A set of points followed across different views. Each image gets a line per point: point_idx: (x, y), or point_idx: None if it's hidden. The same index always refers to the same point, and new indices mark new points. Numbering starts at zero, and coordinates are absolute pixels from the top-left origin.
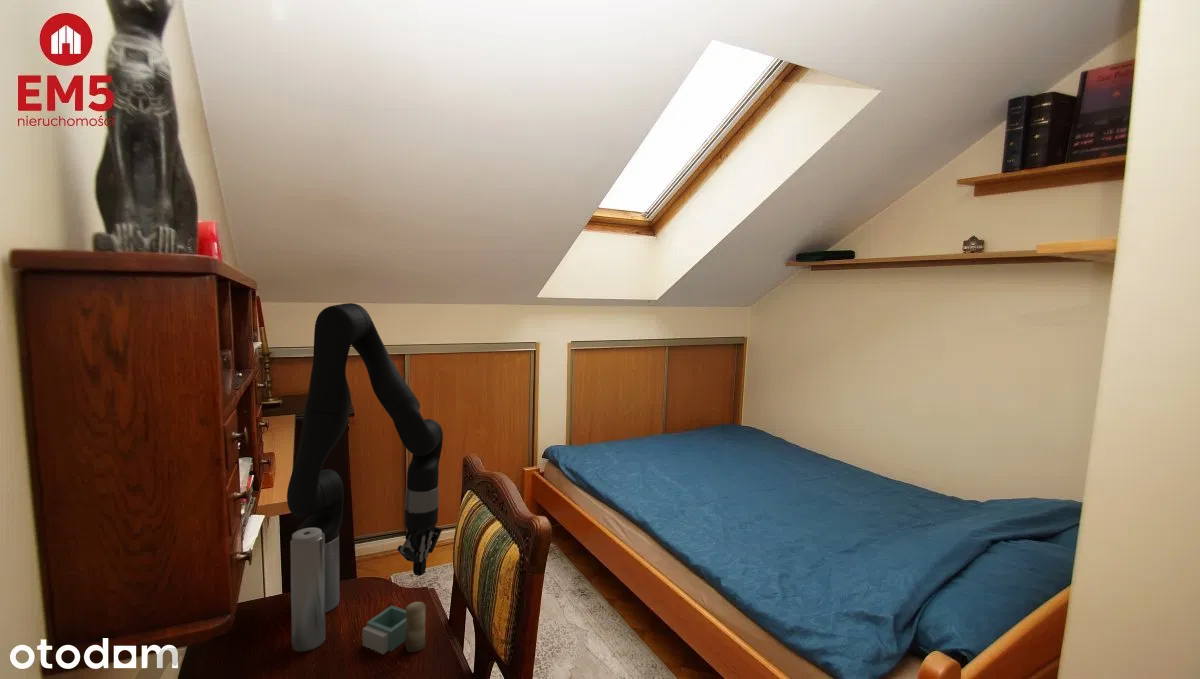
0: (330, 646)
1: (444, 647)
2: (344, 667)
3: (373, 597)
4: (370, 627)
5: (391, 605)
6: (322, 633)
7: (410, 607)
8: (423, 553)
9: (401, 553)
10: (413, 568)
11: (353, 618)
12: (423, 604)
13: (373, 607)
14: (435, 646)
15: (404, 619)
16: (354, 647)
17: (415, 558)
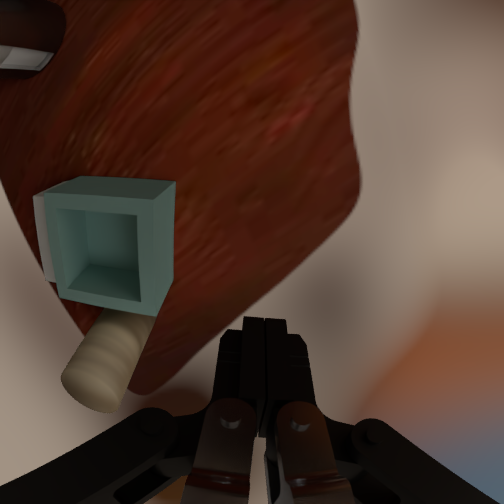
0: (36, 102)
1: (166, 364)
2: (13, 202)
3: (289, 10)
4: (45, 215)
5: (151, 200)
6: (18, 73)
7: (76, 381)
8: (267, 477)
9: (30, 480)
10: (217, 358)
11: (151, 39)
12: (113, 406)
13: (232, 49)
14: (158, 348)
15: (114, 301)
16: (54, 164)
17: (152, 479)
